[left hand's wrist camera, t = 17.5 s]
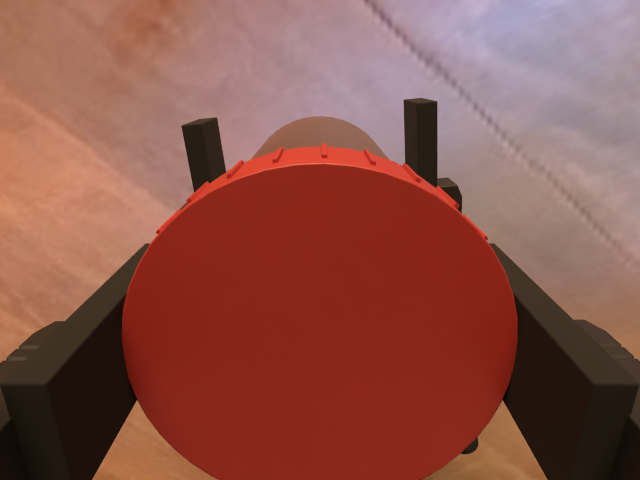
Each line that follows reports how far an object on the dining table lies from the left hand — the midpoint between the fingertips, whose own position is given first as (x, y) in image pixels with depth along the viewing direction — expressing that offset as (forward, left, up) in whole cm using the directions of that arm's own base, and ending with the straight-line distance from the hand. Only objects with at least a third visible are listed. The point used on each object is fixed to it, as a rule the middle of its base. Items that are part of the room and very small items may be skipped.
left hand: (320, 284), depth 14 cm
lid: (0, 0, +4) cm, 4 cm away
